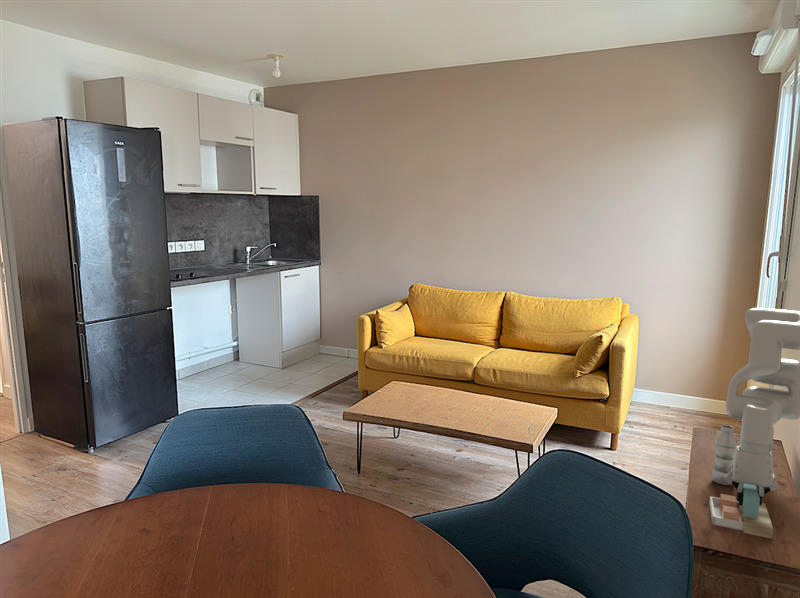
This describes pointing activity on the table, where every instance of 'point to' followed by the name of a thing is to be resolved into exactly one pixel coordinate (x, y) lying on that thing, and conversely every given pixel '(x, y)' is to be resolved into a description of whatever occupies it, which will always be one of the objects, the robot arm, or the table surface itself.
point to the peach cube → (730, 513)
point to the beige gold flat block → (757, 523)
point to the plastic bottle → (724, 454)
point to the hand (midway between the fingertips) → (748, 504)
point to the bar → (750, 501)
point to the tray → (717, 516)
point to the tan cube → (727, 501)
